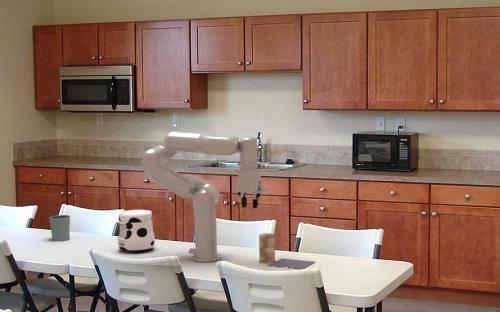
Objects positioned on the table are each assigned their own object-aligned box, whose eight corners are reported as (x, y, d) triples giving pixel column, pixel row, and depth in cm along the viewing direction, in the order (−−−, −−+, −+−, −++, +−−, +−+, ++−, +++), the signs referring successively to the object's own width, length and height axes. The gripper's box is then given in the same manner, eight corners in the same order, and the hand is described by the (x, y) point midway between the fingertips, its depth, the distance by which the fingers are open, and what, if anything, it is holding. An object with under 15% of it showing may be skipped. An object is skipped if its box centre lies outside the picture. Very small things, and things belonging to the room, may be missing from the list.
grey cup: (65, 242, 377) (63, 218, 376) (46, 241, 379) (45, 217, 378) (74, 238, 387) (73, 214, 386) (56, 237, 389) (55, 214, 388)
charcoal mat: (267, 266, 319) (267, 265, 319) (281, 259, 331) (281, 258, 331) (302, 269, 311) (302, 268, 311) (315, 262, 324) (315, 261, 324)
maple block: (259, 262, 325) (258, 235, 324) (264, 260, 330) (264, 232, 329) (269, 263, 323) (269, 235, 322) (275, 261, 327) (274, 233, 326)
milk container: (158, 246, 363) (157, 209, 361) (150, 254, 346) (149, 215, 344) (123, 246, 364) (122, 209, 363) (113, 254, 347) (112, 215, 346)
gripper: (227, 166, 327) (228, 207, 329) (262, 167, 319) (263, 210, 321) (236, 164, 334) (236, 205, 335) (270, 165, 326) (271, 207, 327)
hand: (249, 207), depth 328 cm, fingers open, 4 cm apart
